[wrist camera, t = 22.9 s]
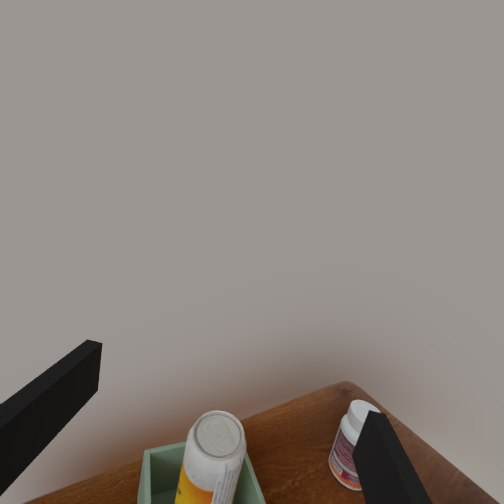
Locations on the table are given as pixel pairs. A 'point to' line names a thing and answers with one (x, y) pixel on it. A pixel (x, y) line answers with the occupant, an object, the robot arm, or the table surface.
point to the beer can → (212, 460)
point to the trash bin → (168, 473)
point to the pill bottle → (348, 444)
